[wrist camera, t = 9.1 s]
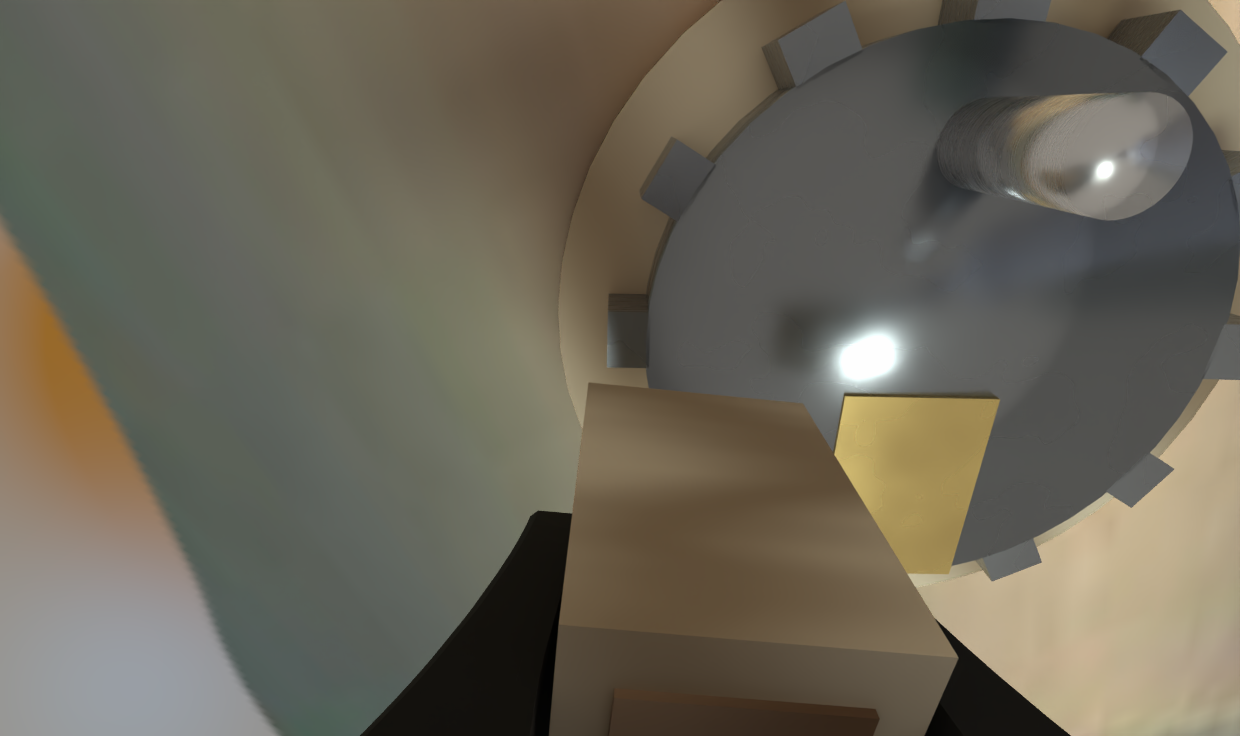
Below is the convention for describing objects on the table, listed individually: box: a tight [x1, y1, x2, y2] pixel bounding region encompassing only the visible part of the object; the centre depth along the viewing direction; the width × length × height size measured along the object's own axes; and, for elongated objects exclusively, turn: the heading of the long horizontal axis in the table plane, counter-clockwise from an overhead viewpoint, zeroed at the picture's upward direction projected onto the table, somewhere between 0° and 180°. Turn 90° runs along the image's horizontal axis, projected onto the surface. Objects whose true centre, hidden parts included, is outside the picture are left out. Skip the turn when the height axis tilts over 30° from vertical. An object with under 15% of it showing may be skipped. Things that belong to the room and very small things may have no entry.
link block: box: [549, 382, 958, 736], centre depth 9 cm, size 4×5×5 cm
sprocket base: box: [558, 0, 1240, 587], centre depth 15 cm, size 18×18×3 cm
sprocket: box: [607, 0, 1240, 581], centre depth 13 cm, size 15×15×6 cm
